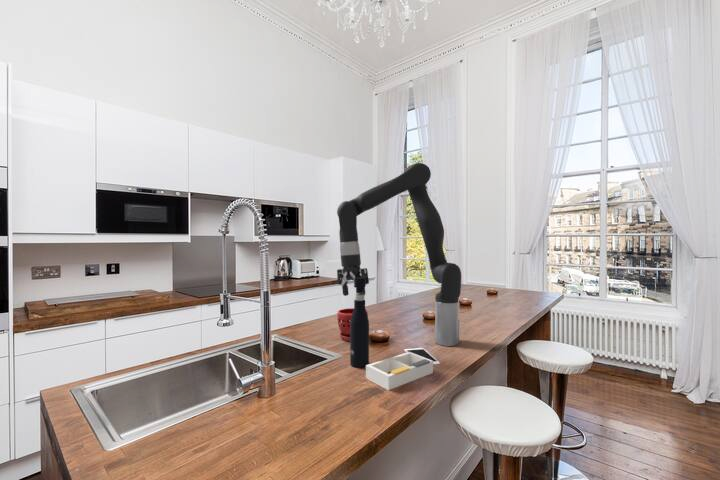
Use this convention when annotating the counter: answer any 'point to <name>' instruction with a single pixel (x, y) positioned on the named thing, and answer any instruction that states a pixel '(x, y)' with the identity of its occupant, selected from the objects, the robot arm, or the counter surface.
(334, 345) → the counter surface
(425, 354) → the cell phone
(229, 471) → the counter surface
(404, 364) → the bottle holder
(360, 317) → the black water bottle
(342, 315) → the plant pot
